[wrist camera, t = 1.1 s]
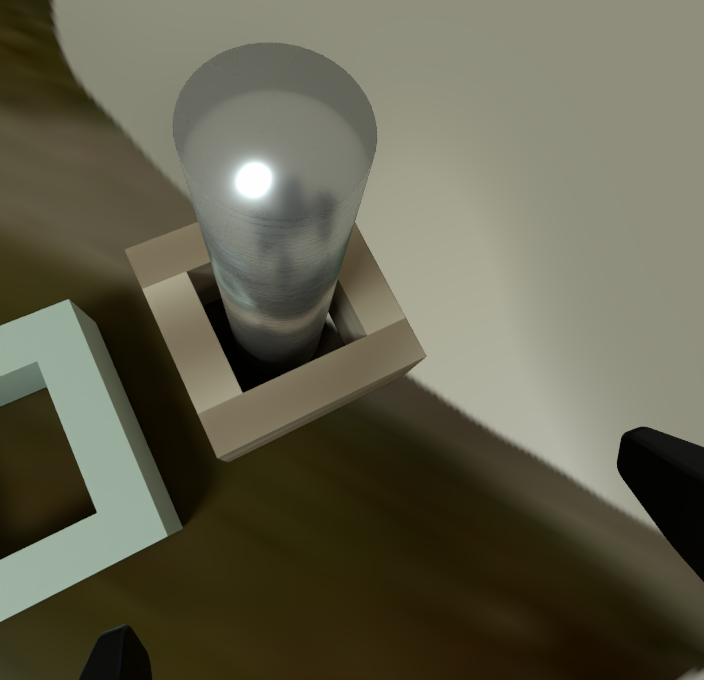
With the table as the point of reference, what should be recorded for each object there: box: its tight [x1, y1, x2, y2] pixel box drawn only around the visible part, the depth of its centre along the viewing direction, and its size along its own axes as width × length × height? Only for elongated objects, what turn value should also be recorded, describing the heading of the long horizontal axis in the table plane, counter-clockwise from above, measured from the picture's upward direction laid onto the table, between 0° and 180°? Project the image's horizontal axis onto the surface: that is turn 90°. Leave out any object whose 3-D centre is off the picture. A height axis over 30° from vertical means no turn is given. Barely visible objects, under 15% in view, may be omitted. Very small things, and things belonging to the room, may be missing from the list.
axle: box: [173, 43, 377, 375], centre depth 16 cm, size 4×4×14 cm
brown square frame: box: [125, 222, 426, 462], centre depth 21 cm, size 8×8×4 cm
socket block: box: [0, 299, 183, 622], centre depth 19 cm, size 9×9×3 cm
